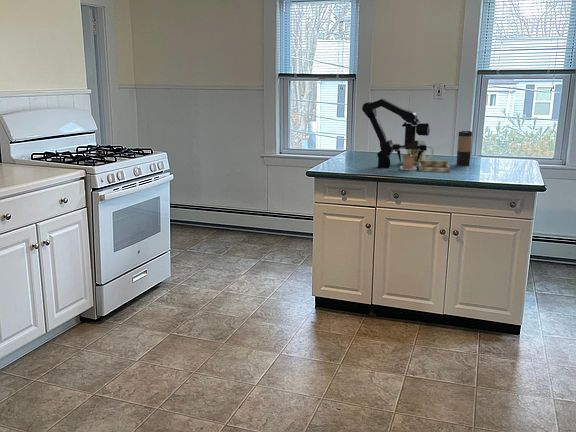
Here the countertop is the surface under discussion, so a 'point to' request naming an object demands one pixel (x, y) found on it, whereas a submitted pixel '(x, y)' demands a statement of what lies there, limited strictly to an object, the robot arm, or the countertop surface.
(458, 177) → the countertop surface
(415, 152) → the pitcher
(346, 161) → the countertop surface
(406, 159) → the pot
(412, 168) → the tile
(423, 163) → the wooden tray
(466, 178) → the countertop surface
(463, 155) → the travel mug
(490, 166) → the countertop surface
